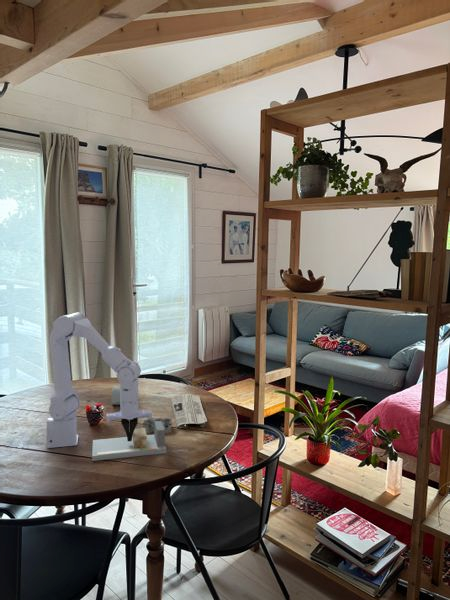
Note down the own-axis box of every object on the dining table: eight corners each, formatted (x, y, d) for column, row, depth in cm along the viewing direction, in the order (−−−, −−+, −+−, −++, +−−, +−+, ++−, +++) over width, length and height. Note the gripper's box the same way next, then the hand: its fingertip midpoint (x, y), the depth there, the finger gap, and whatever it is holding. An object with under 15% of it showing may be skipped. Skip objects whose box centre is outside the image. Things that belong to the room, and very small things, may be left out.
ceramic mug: (131, 406, 183) (131, 389, 183) (111, 407, 182) (111, 389, 182) (133, 399, 194) (133, 381, 193) (114, 399, 193) (114, 382, 192)
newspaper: (170, 399, 195) (170, 392, 194) (198, 398, 197) (198, 390, 197) (177, 431, 160) (177, 422, 160) (211, 429, 163) (211, 420, 162)
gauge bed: (92, 460, 136) (91, 439, 135) (92, 444, 147) (92, 424, 147) (166, 453, 142) (166, 432, 141) (161, 437, 154) (161, 418, 153)
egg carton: (141, 434, 157) (141, 423, 157) (144, 426, 165) (144, 415, 164) (171, 434, 157) (171, 423, 157) (173, 426, 165) (173, 415, 164)
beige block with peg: (134, 450, 140) (134, 440, 139) (132, 438, 148) (132, 428, 148) (147, 449, 141) (147, 438, 140) (144, 437, 149) (144, 427, 149)
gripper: (106, 405, 137) (106, 447, 139) (153, 402, 141) (153, 442, 143) (106, 398, 144) (106, 438, 145) (150, 395, 148) (150, 434, 149)
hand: (129, 440), depth 144 cm, fingers closed
